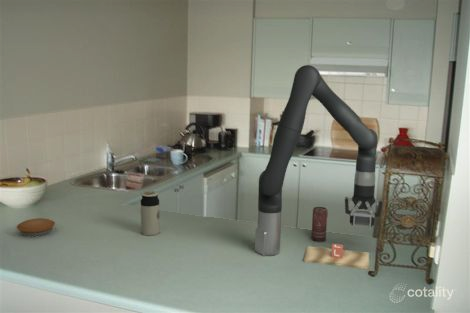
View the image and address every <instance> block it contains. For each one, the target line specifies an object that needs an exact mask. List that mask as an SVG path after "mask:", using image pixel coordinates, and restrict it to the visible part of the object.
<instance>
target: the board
mask: <svg viewBox="0 0 470 313" xmlns="http://www.w3.org/2000/svg"><path fill="white" fill-rule="evenodd" d="M303 262H305V263H311V264H313V263H314V264H321V265H329V266H338V267H339V266H340V267H348V268H355V269H356V268H358V269H366V270H369V269H370V253H369V252H367V251H366V252H365V251H355V250H347V249H343V254H342V259H341V258H332V248H328V247H319V246H311V245H310V246H309V245H308V246H307V249H306V250H305V254H304V258H303Z"/></svg>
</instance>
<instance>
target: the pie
mask: <svg viewBox="0 0 470 313" xmlns="http://www.w3.org/2000/svg"><path fill="white" fill-rule="evenodd" d="M55 225H56V222H55V221H54V220H51V219H49V218H43V217H41V218H31V219H27V220H24V221H22V222H20V223H19V224H17V226H16V230H18V232H20V233H21V234H22V235H23V236H24V235H25V236H24V237H27V236H31V237H30V238H36V237H35V236H38V237H41V236H42V235H43V236H46V235H49V234H50V233H51V232H52V229H53V228H54V226H55ZM32 236H33V237H32ZM43 236H42V237H43Z"/></svg>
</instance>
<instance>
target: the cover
mask: <svg viewBox="0 0 470 313" xmlns="http://www.w3.org/2000/svg"><path fill="white" fill-rule="evenodd" d="M355 225H358V226H368V231H372V230H371V229H372V227H371V214H370V212H369V210H368V211H367V210H358V209H357V210H356V212H355V213H354V218H353V225H352V229H355Z"/></svg>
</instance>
